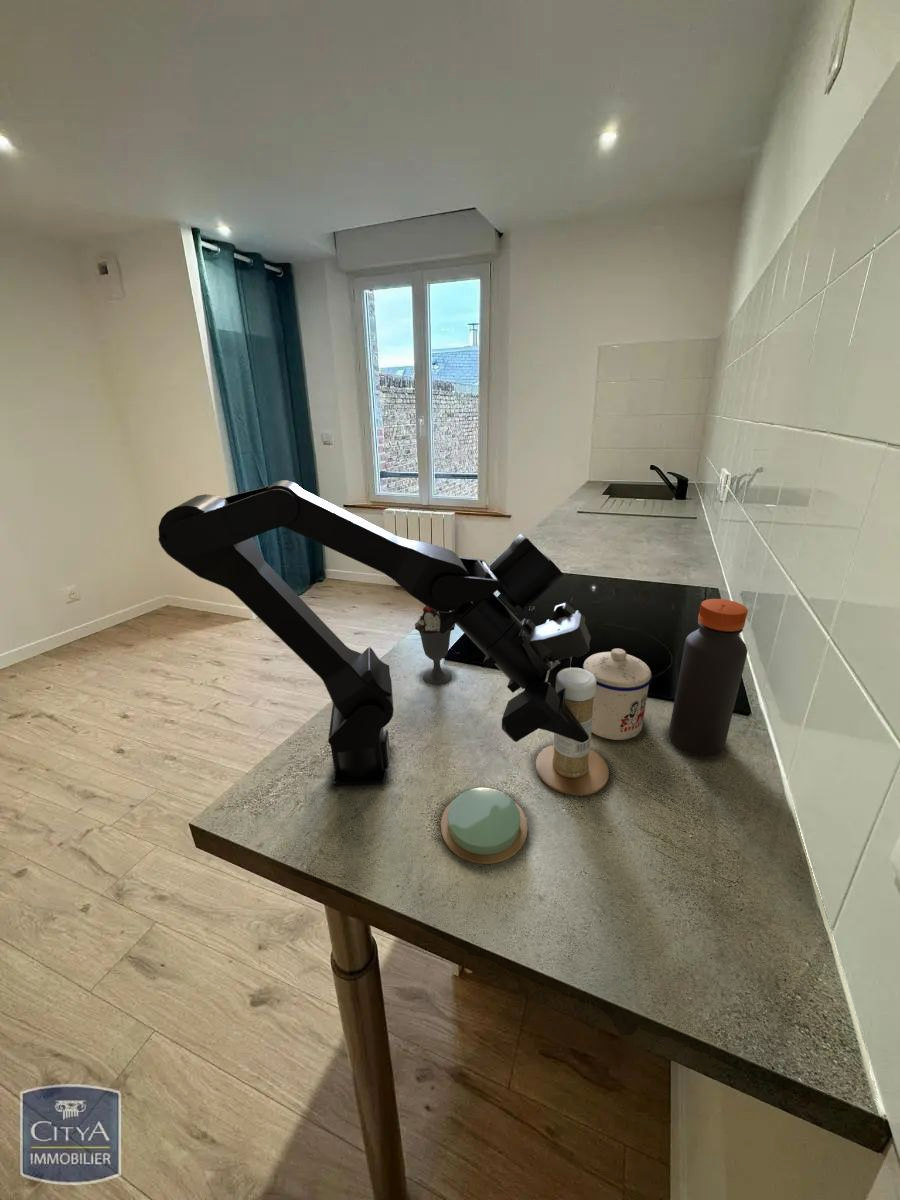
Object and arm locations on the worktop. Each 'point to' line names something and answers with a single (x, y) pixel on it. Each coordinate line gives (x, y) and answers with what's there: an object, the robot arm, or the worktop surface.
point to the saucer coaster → (478, 857)
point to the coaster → (573, 786)
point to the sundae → (434, 645)
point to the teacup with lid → (618, 693)
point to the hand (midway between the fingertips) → (587, 725)
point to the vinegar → (709, 679)
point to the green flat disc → (484, 821)
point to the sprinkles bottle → (580, 702)
